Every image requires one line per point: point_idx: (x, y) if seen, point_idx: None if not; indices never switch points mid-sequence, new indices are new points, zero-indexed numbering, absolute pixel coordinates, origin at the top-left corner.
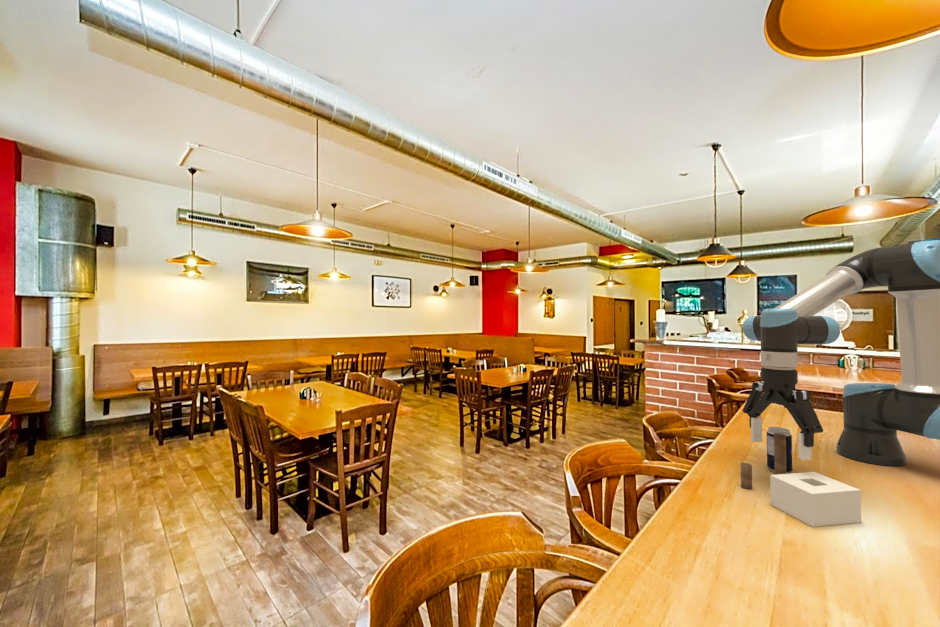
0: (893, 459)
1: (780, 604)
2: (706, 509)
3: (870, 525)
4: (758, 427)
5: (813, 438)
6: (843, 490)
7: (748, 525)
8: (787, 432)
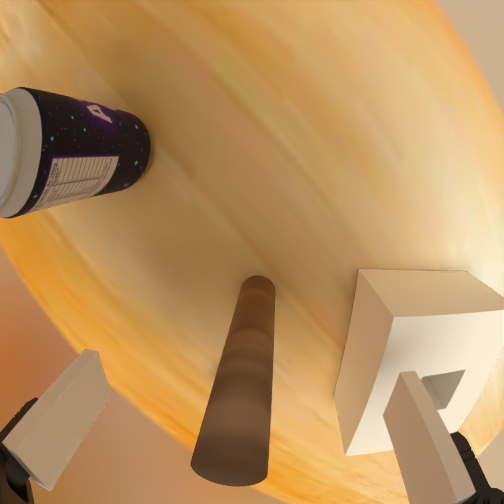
0: None
1: None
2: (305, 477)
3: (478, 263)
4: (62, 427)
5: (479, 468)
6: (495, 358)
7: (370, 459)
8: (19, 136)
